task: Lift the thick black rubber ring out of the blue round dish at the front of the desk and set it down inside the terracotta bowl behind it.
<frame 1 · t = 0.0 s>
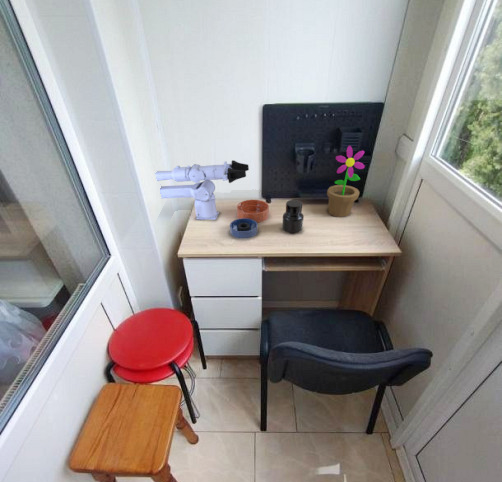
hand: (247, 170, 119), 22 cm above the table, tool horizontal, fingers open, 7 cm apart
blue round dish: (243, 232, 125), on the table
flowerpot: (338, 212, 137), on the table
ring: (243, 231, 125), resting on blue round dish
bowl: (253, 216, 135), on the table
ink bottle: (292, 229, 126), on the table
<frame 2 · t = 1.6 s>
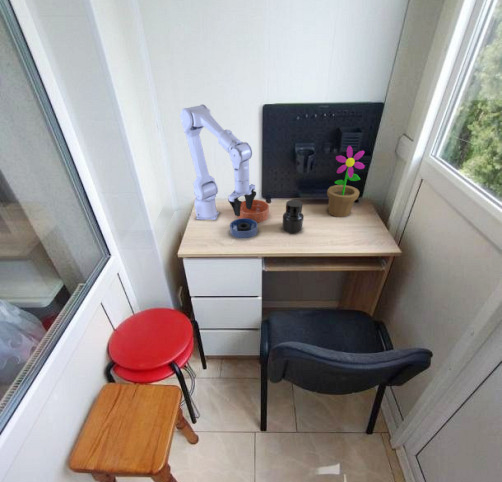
hand: (243, 212, 118), 9 cm above the table, tool pointing down, fingers open, 7 cm apart
nothing on the table moved.
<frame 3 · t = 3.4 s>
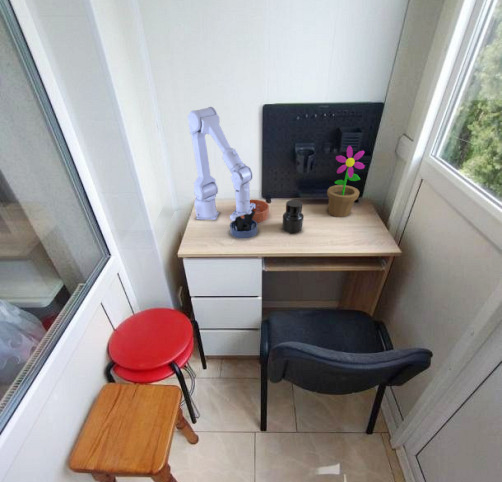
hand: (243, 229, 124), 1 cm above the table, tool pointing down, fingers closed on ring, 5 cm apart
ring: (243, 231, 125), point 1 cm above the table, touching blue round dish, gripper
everything else where it was.
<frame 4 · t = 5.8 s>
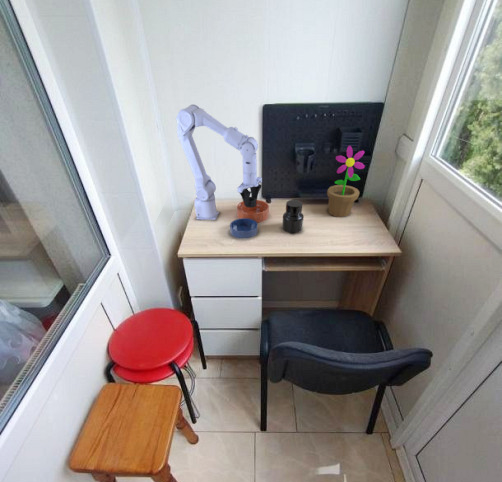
hand: (250, 203, 127), 8 cm above the table, tool pointing down, fingers closed on ring, 5 cm apart
ring: (250, 205, 127), point 7 cm above the table, touching gripper
everything else where it was.
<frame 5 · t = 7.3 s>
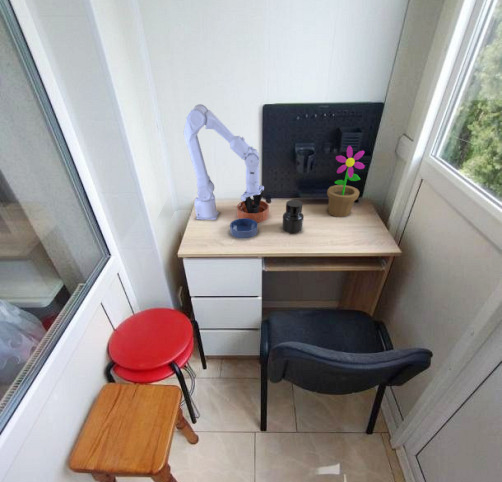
hand: (252, 210, 133), 3 cm above the table, tool pointing down, fingers closed on ring, 5 cm apart
ring: (253, 212, 134), point 2 cm above the table, touching gripper
everything else where it was.
when the fingers open (1 cm above the table, at t = 8.4 s): ring stays where it is, resting on bowl.
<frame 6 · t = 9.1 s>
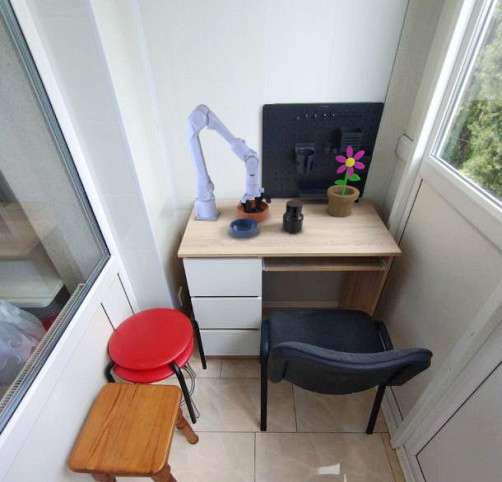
hand: (252, 212, 134), 2 cm above the table, tool pointing down, fingers open, 7 cm apart
ring: (253, 215, 135), resting on bowl
everything else where it was.
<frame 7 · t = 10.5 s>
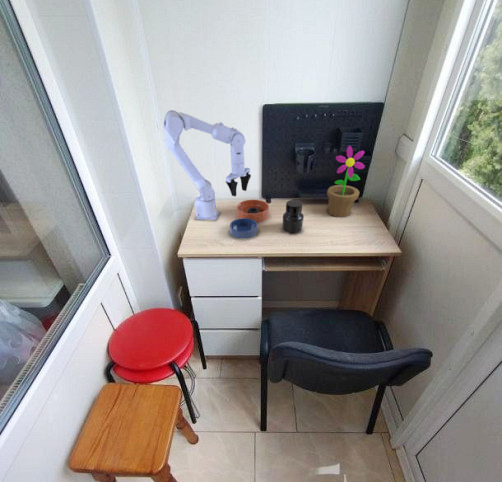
hand: (239, 193, 132), 9 cm above the table, tool pointing down, fingers open, 7 cm apart
nothing on the table moved.
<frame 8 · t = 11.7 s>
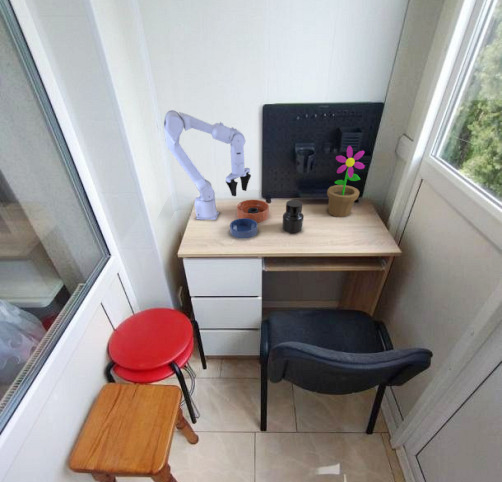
hand: (239, 193, 132), 9 cm above the table, tool pointing down, fingers open, 7 cm apart
nothing on the table moved.
at the end: ring inside the target area in the bowl (0.1 cm from its centre), point 0.5 cm above the bowl's base; ring tilted 0°; the gripper is holding nothing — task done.
